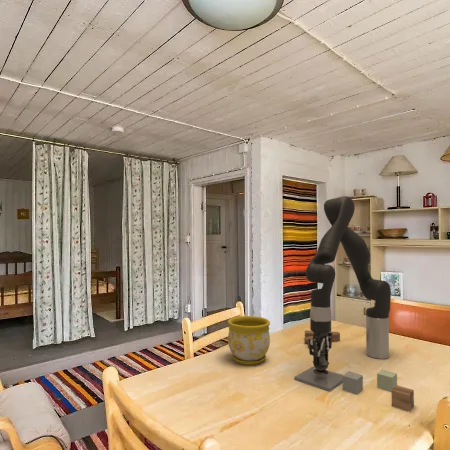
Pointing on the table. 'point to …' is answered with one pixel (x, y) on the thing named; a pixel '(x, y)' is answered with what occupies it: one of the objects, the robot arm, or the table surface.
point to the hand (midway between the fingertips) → (320, 363)
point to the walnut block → (402, 398)
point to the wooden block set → (310, 334)
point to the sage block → (386, 380)
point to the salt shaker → (322, 363)
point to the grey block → (353, 382)
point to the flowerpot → (248, 339)
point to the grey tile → (320, 379)
